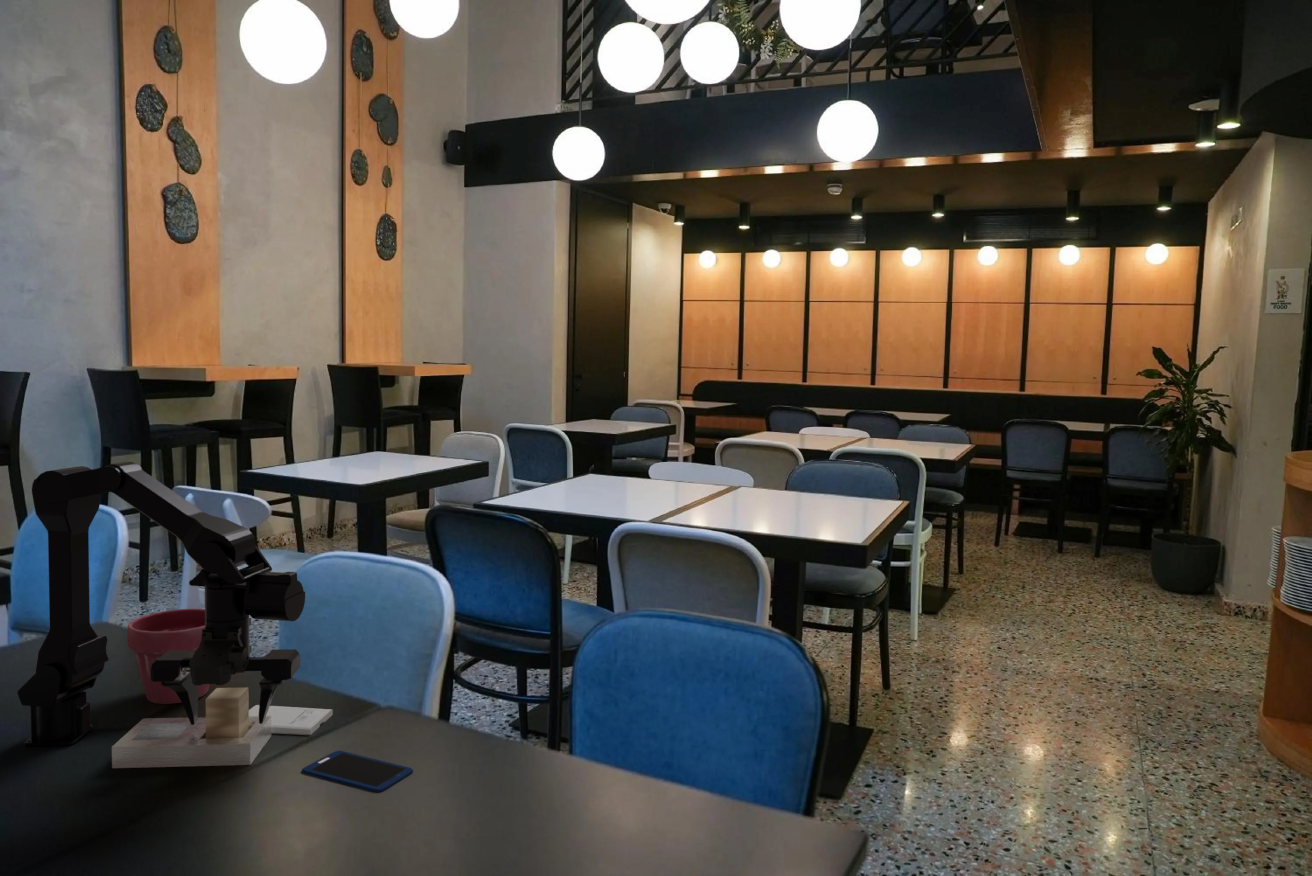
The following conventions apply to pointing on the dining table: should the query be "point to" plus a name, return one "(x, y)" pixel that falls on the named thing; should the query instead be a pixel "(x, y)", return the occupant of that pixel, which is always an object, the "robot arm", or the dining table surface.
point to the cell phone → (358, 771)
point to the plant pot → (164, 645)
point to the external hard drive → (294, 719)
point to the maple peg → (227, 713)
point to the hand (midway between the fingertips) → (228, 723)
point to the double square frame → (186, 744)
